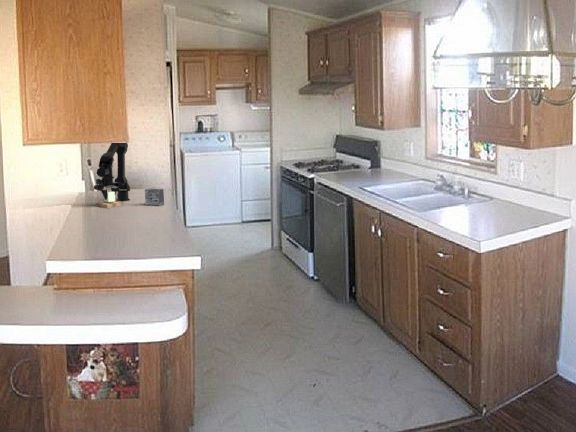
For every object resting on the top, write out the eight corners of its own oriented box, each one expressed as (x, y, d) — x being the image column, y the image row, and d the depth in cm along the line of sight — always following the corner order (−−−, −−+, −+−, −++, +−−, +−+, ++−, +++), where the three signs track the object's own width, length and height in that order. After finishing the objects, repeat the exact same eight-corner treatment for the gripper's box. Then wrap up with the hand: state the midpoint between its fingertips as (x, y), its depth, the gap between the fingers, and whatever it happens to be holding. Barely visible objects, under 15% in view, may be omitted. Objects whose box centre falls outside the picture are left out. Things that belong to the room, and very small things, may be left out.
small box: (164, 204, 437) (164, 188, 435) (159, 206, 431) (159, 190, 429) (150, 204, 440) (149, 188, 438) (145, 205, 434) (144, 189, 432)
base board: (112, 203, 444) (112, 200, 444) (123, 205, 436) (123, 202, 436) (96, 206, 435) (96, 203, 435) (107, 208, 427) (107, 204, 427)
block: (110, 200, 439) (110, 191, 437) (115, 201, 435) (114, 191, 434) (104, 201, 435) (103, 192, 434) (108, 202, 432) (108, 192, 430)
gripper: (112, 172, 444) (114, 196, 447) (87, 175, 430) (89, 200, 433) (123, 173, 437) (124, 197, 440) (98, 177, 423) (99, 201, 426)
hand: (109, 199), depth 435 cm, fingers closed on block, 5 cm apart
